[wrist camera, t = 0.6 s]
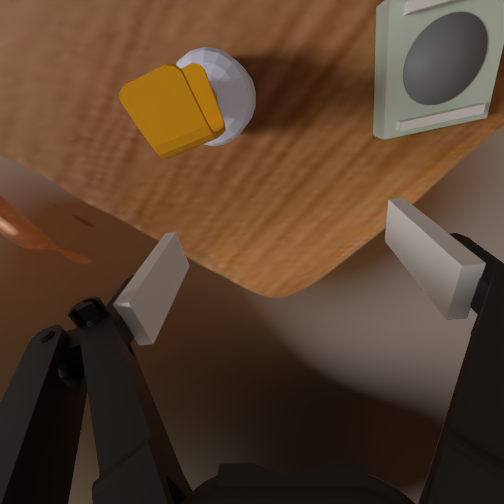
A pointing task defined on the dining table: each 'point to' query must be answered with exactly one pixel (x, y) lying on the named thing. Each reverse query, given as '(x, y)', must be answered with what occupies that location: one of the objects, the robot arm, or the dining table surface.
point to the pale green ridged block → (434, 63)
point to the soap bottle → (191, 102)
